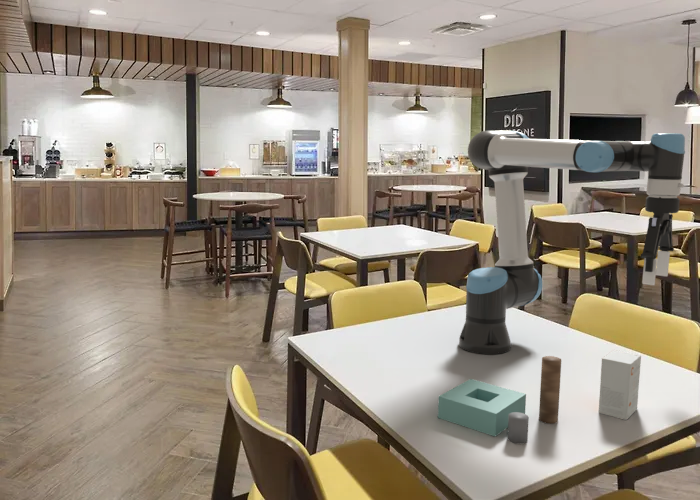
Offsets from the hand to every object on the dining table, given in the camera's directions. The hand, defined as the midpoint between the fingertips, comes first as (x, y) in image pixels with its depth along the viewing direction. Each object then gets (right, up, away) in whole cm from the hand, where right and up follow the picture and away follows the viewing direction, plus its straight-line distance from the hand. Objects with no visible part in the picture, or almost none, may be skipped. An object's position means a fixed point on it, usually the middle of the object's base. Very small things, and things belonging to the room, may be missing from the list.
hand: (655, 280), depth 159 cm
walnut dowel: (-34, -30, -21) cm, 50 cm away
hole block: (-48, -30, -19) cm, 60 cm away
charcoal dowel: (-43, -31, -30) cm, 61 cm away
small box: (-16, -29, -16) cm, 37 cm away
